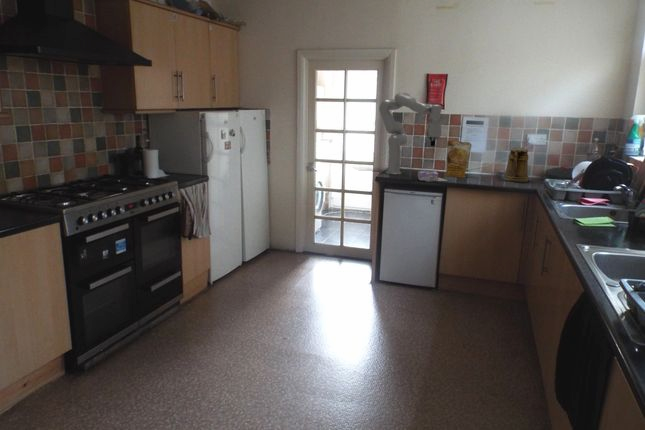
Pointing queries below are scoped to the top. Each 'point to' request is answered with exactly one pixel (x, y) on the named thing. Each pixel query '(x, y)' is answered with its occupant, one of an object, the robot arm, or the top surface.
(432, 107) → the robot arm
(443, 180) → the mat
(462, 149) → the pancake mix bag
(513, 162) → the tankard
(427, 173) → the candy box
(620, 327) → the top surface
